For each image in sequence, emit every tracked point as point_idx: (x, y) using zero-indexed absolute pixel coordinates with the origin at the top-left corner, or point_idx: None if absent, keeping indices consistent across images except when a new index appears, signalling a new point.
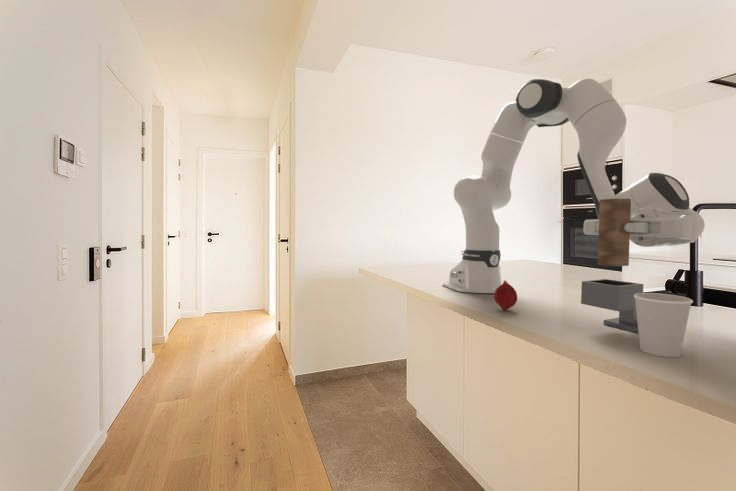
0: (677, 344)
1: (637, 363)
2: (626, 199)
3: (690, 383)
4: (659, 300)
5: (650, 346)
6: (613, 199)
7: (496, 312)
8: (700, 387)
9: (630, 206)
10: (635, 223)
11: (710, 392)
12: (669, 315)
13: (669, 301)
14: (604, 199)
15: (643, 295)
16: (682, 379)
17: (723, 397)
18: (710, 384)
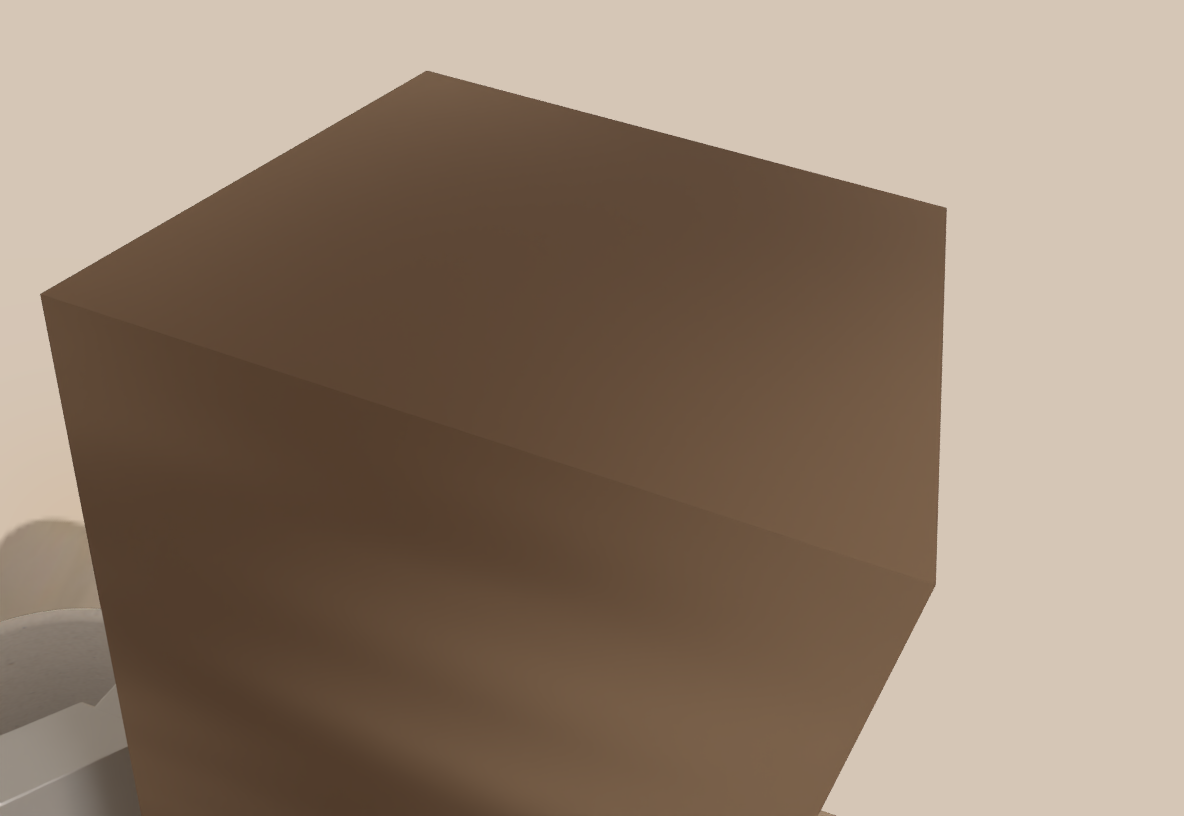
0: None
1: None
2: (237, 204)
3: (83, 586)
4: (93, 611)
5: None
6: (558, 126)
7: None
8: (60, 570)
9: (96, 542)
10: (66, 711)
11: (42, 548)
12: (44, 689)
13: (36, 614)
14: (805, 175)
15: None
16: (100, 607)
17: (16, 532)
18: (9, 614)
